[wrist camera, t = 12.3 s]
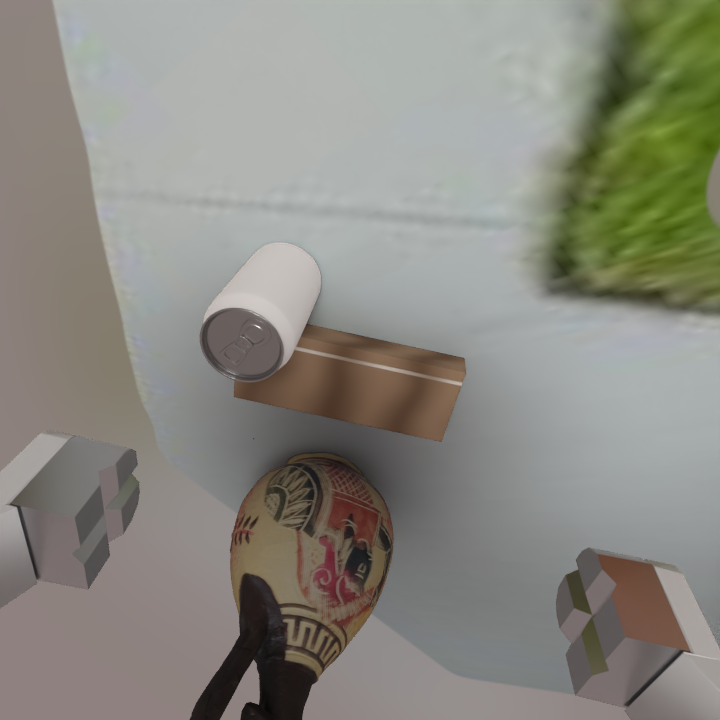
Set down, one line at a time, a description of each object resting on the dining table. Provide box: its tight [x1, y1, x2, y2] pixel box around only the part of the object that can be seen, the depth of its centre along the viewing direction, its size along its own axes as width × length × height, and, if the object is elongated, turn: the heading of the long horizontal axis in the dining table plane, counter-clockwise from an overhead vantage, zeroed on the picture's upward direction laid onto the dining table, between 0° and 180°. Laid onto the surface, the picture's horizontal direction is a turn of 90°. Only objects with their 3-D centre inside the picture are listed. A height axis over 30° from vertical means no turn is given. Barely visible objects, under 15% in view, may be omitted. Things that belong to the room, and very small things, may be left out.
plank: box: [234, 324, 466, 442], centre depth 46 cm, size 20×8×2 cm, turn 80°
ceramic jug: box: [190, 438, 394, 720], centre depth 42 cm, size 17×15×30 cm
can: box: [200, 242, 321, 382], centre depth 38 cm, size 6×6×12 cm
